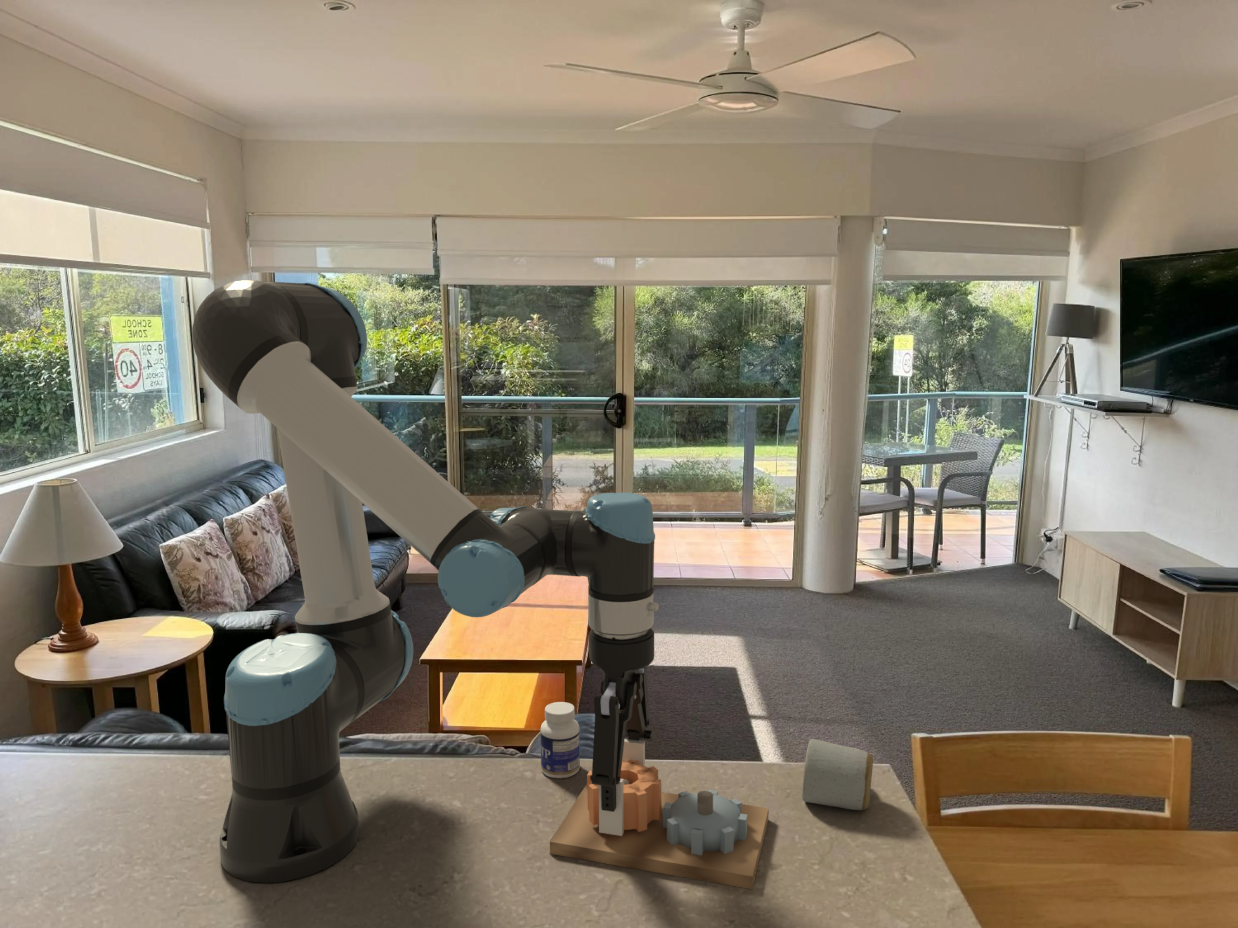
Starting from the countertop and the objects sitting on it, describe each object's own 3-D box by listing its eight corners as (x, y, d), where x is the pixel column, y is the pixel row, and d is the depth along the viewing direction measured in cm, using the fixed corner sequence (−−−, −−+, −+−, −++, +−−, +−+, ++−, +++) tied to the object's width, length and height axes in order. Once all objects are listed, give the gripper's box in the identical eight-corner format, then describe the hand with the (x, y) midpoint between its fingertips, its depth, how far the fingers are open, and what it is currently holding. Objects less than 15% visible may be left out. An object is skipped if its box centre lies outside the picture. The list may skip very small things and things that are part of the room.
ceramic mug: (869, 823, 107) (872, 763, 105) (800, 812, 109) (802, 753, 108) (872, 782, 117) (875, 727, 115) (809, 772, 119) (811, 718, 118)
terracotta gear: (577, 827, 102) (576, 790, 101) (600, 789, 110) (599, 755, 110) (651, 838, 100) (650, 801, 99) (669, 798, 108) (668, 764, 107)
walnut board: (549, 853, 101) (549, 804, 100) (588, 791, 114) (588, 748, 113) (752, 889, 94) (753, 837, 93) (768, 819, 107) (769, 773, 107)
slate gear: (654, 847, 99) (654, 826, 99) (673, 803, 108) (673, 784, 108) (739, 861, 97) (740, 840, 96) (752, 815, 106) (752, 795, 105)
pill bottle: (537, 763, 121) (536, 701, 120) (574, 757, 123) (573, 697, 122) (545, 781, 116) (544, 718, 115) (584, 775, 118) (583, 713, 117)
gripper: (627, 665, 90) (628, 868, 94) (674, 602, 111) (674, 771, 114) (558, 658, 92) (562, 857, 96) (616, 598, 113) (618, 763, 116)
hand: (623, 810), depth 105 cm, fingers closed on terracotta gear, 9 cm apart
